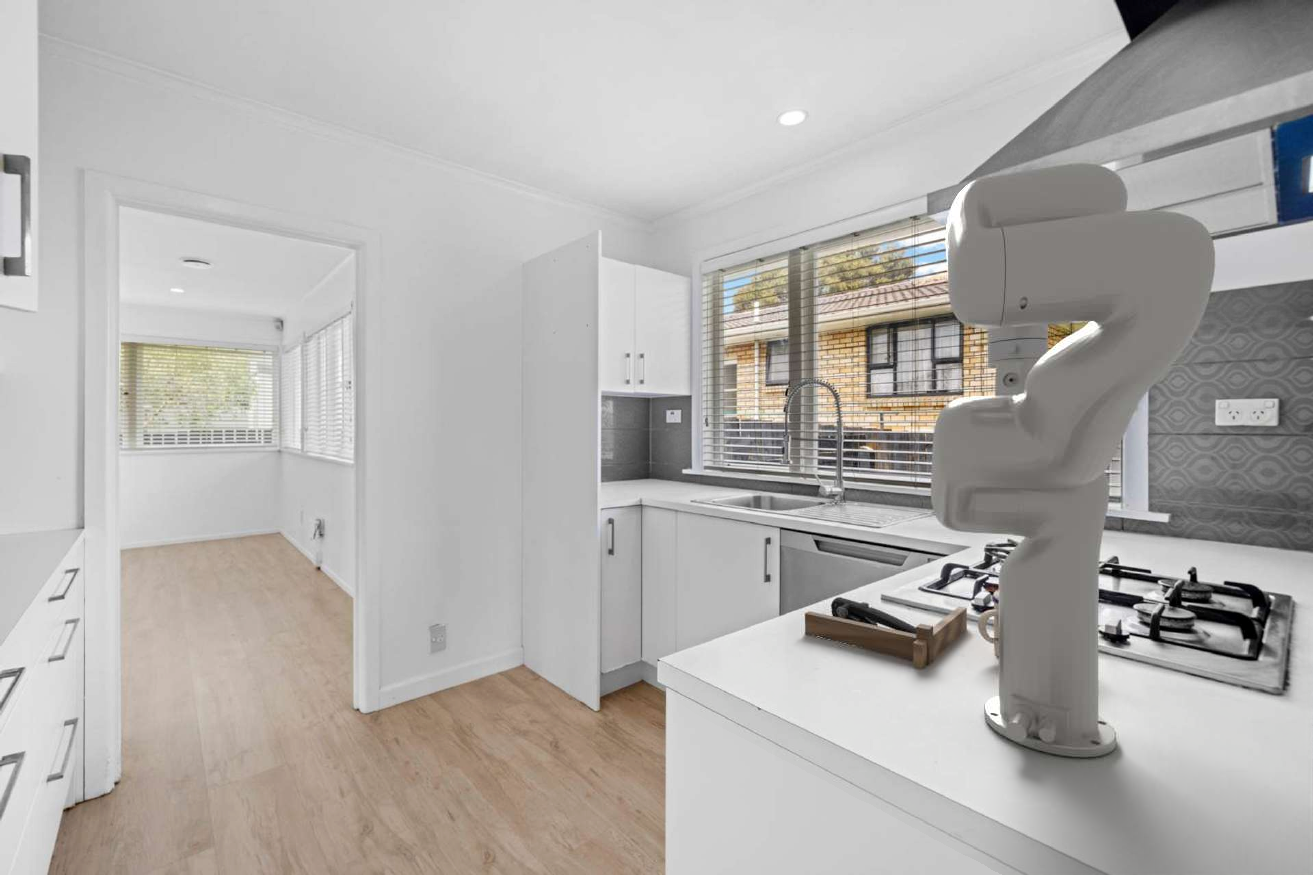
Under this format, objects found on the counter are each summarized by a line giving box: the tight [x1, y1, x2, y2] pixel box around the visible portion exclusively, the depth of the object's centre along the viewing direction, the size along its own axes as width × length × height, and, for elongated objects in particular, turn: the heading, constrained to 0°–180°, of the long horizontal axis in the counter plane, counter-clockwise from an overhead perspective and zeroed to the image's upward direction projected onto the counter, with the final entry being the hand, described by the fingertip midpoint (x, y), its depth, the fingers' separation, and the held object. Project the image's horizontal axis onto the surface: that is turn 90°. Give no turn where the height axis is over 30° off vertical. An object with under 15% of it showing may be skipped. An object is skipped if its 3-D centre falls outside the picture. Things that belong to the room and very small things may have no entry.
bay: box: [804, 606, 968, 670], centre depth 100 cm, size 22×20×5 cm
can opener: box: [830, 596, 917, 634], centre depth 98 cm, size 18×7×6 cm, turn 30°
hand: (1018, 481), depth 87 cm, fingers closed
